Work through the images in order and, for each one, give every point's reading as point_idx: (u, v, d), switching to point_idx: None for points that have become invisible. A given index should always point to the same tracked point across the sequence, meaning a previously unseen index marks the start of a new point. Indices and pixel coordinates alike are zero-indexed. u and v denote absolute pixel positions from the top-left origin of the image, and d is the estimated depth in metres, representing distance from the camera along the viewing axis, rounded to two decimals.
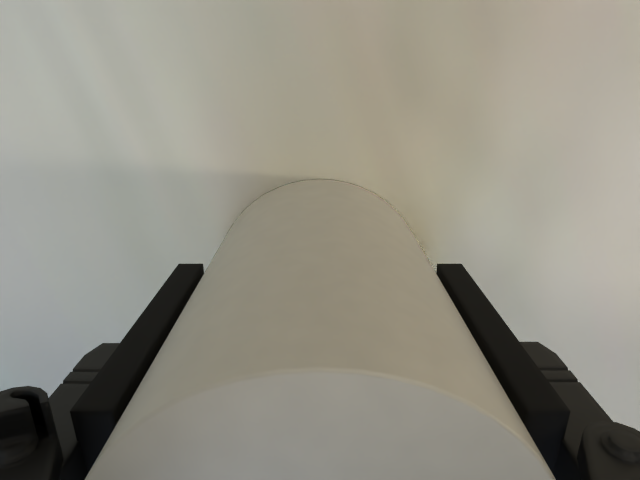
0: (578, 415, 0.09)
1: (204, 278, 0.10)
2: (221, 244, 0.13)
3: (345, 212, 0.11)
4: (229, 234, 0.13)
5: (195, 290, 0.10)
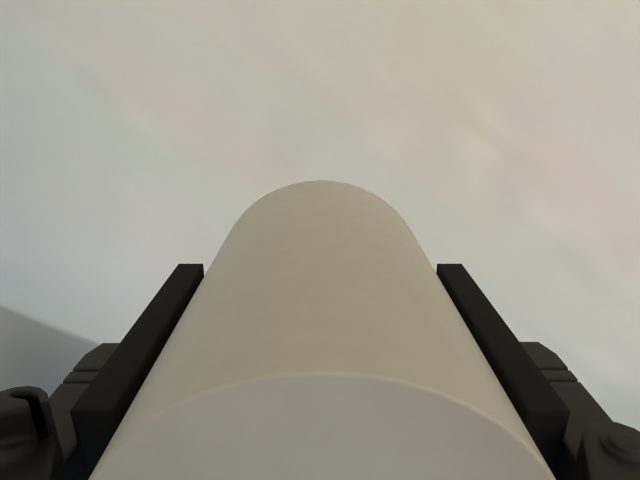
0: (577, 414, 0.09)
1: (205, 280, 0.10)
2: (222, 246, 0.13)
3: (346, 214, 0.11)
4: (230, 236, 0.13)
5: (196, 292, 0.10)
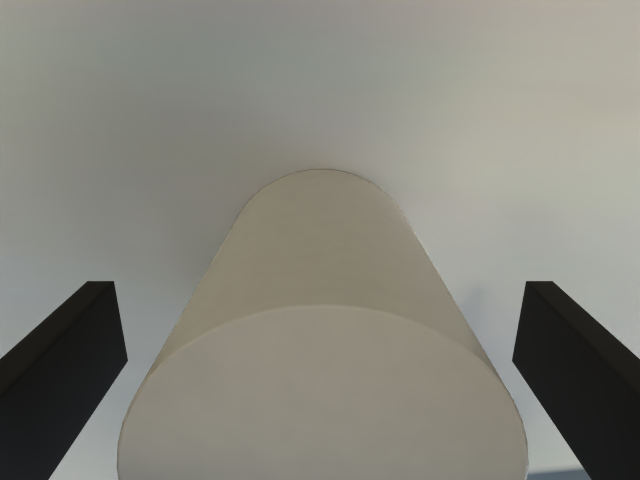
0: None
1: (219, 253, 0.12)
2: (232, 227, 0.15)
3: (344, 196, 0.13)
4: (239, 218, 0.15)
5: (212, 263, 0.12)
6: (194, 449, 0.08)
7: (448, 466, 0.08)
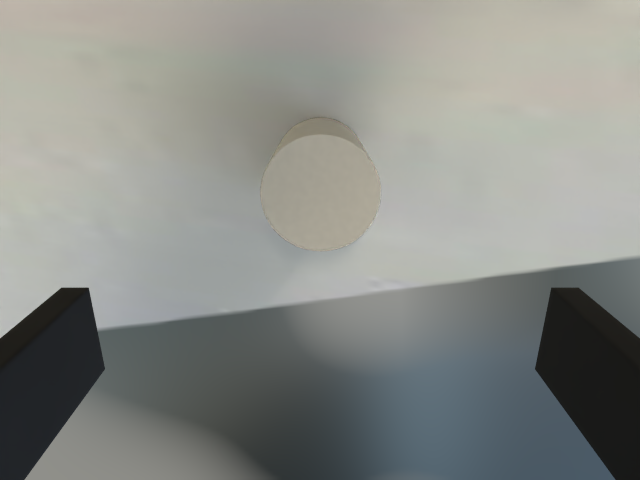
0: None
1: (281, 142, 0.31)
2: None
3: (329, 123, 0.32)
4: None
5: (279, 145, 0.31)
6: (284, 181, 0.27)
7: (357, 187, 0.27)
